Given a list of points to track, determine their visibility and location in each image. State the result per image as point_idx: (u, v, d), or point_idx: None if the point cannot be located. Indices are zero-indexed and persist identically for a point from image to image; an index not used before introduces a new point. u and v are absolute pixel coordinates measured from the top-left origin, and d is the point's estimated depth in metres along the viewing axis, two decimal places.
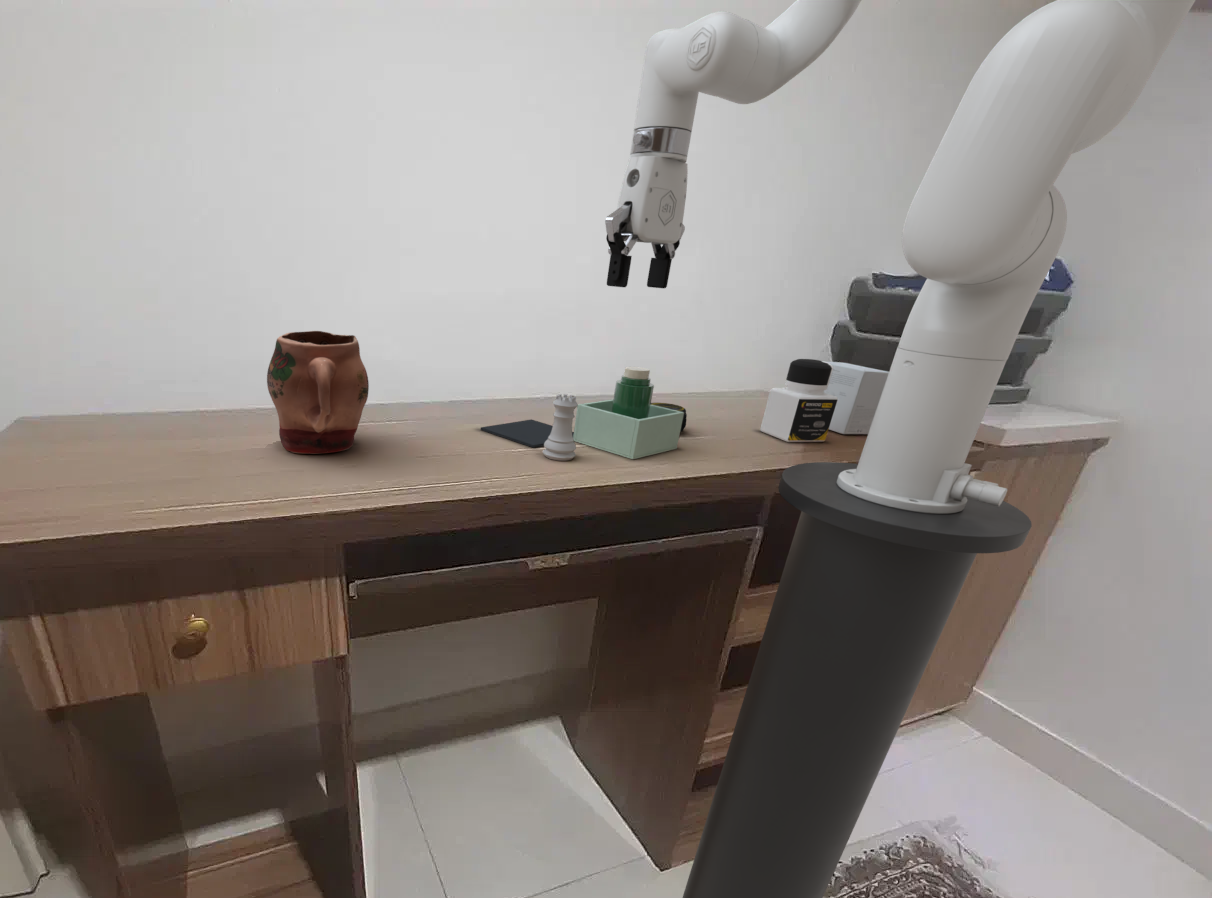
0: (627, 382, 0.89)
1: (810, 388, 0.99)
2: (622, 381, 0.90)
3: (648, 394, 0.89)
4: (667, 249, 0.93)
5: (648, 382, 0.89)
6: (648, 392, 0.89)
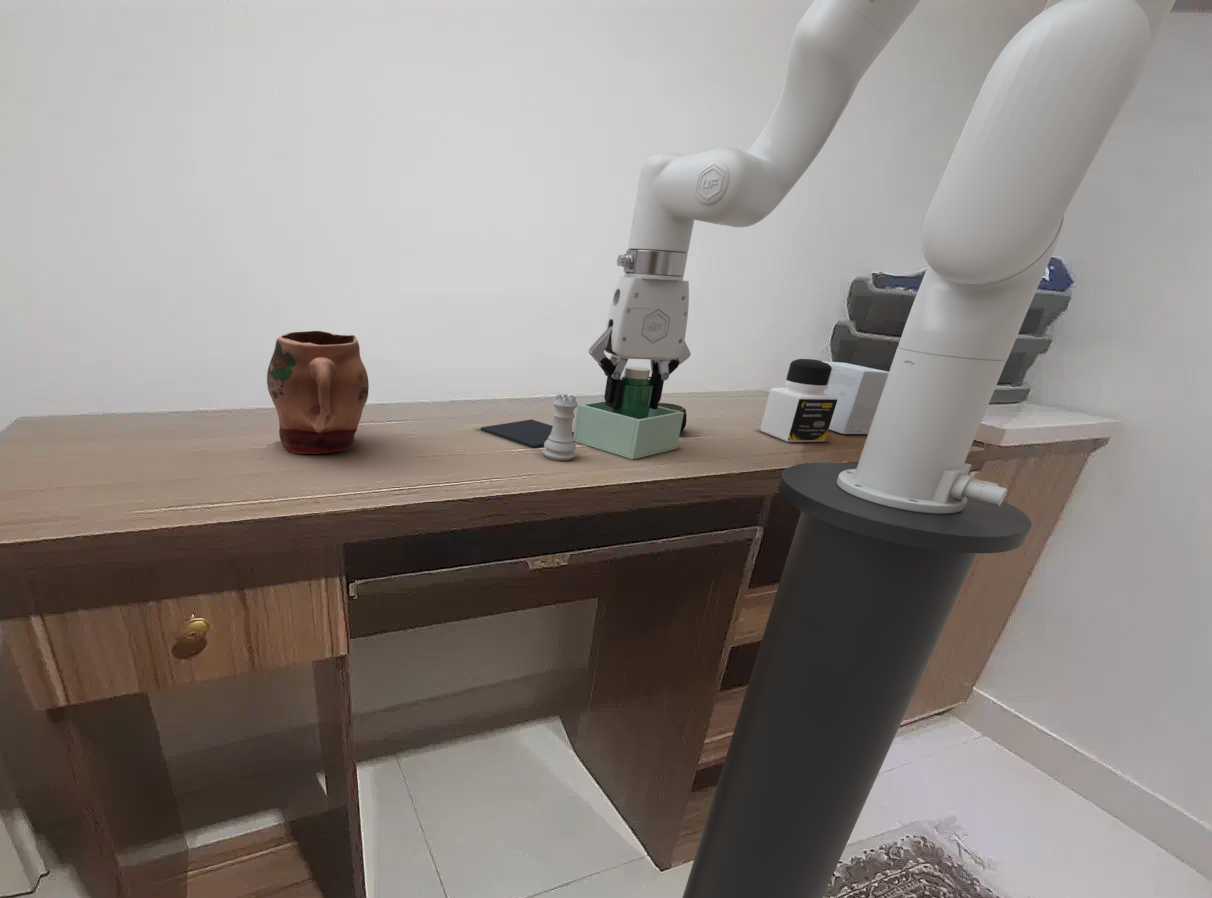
0: (627, 382, 0.89)
1: (810, 388, 0.99)
2: None
3: (648, 394, 0.89)
4: (659, 368, 0.89)
5: (648, 382, 0.89)
6: (648, 391, 0.89)
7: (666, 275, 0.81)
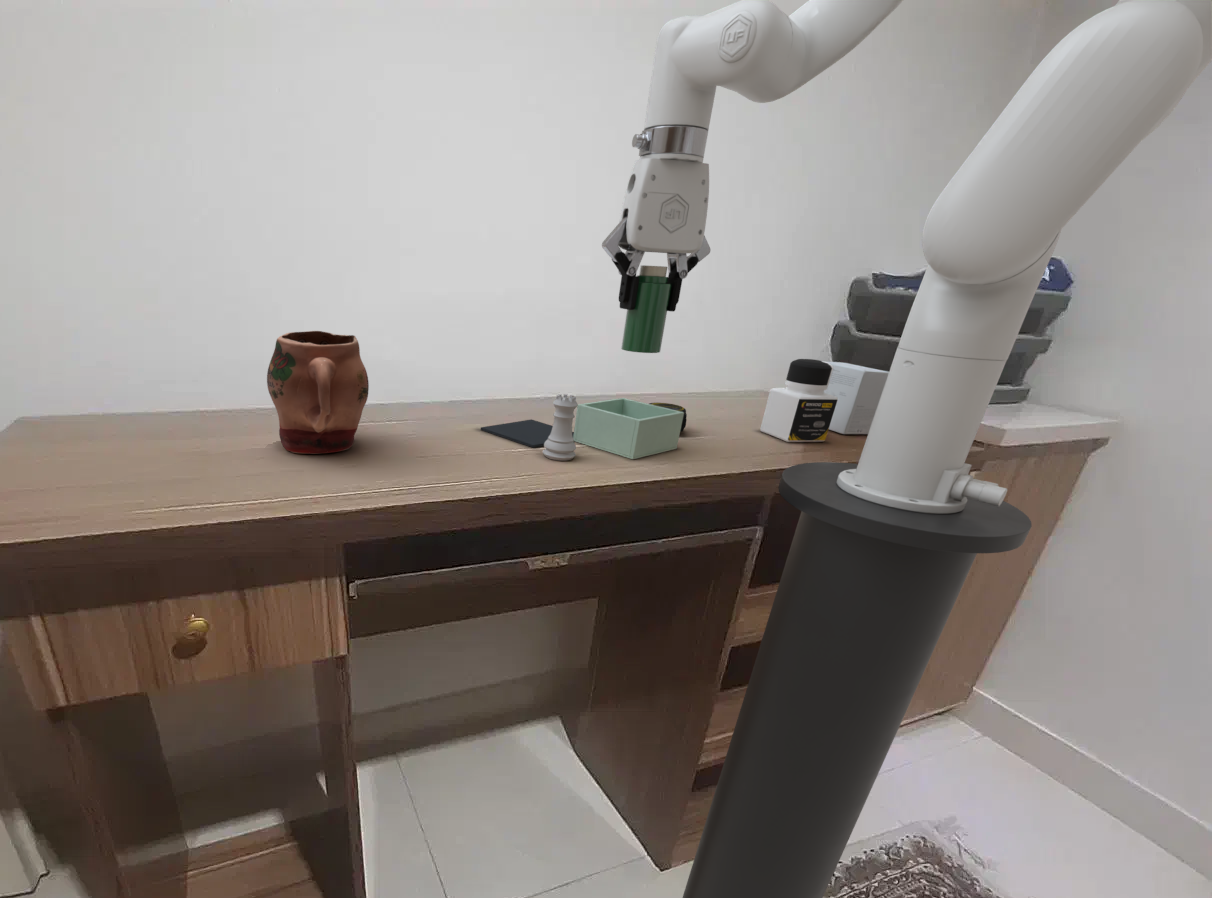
0: (643, 280, 0.83)
1: (810, 388, 0.99)
2: None
3: (665, 293, 0.83)
4: (677, 265, 0.83)
5: (665, 280, 0.83)
6: (666, 289, 0.83)
7: (685, 153, 0.75)
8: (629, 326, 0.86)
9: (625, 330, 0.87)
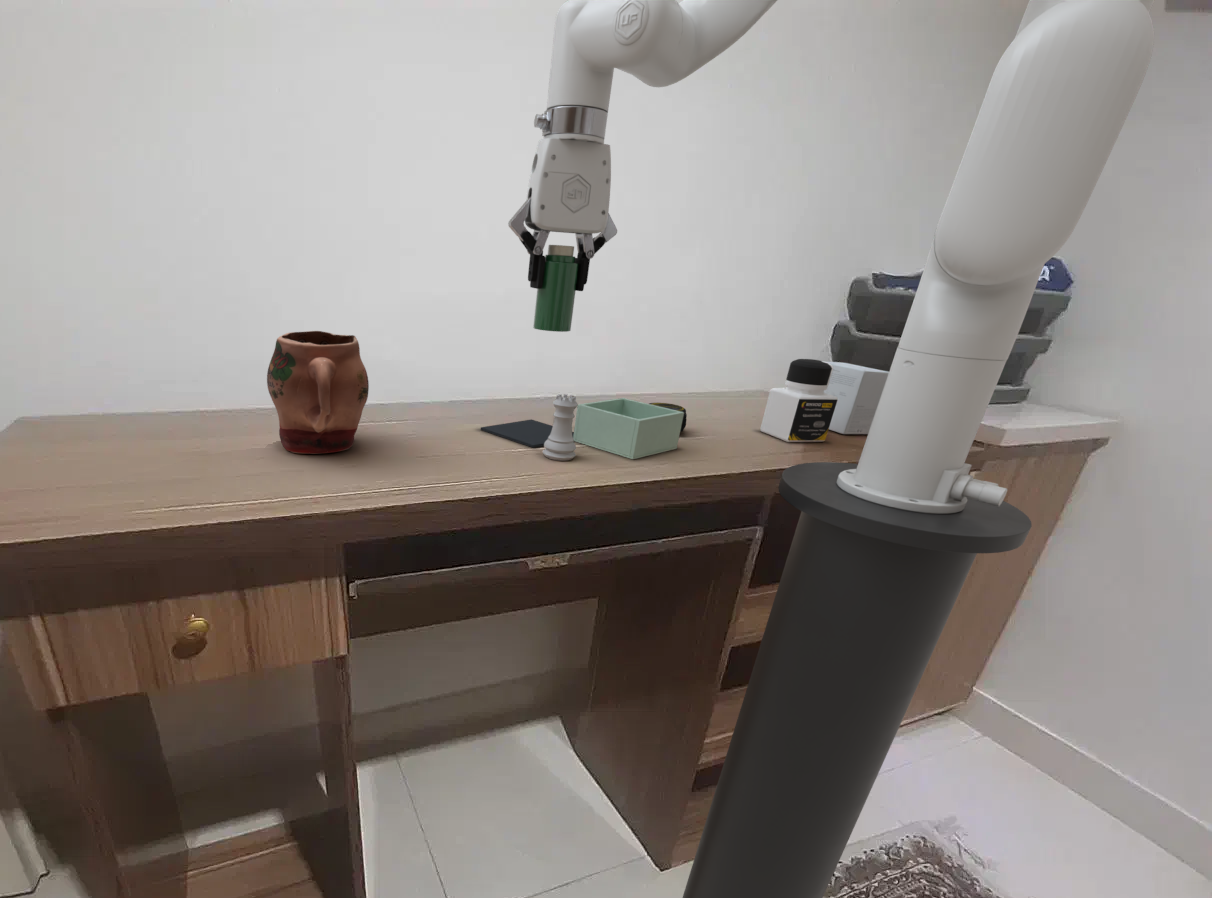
0: (550, 259, 0.85)
1: (810, 388, 0.99)
2: None
3: (572, 272, 0.85)
4: (584, 245, 0.85)
5: (572, 259, 0.85)
6: (572, 269, 0.85)
7: (583, 134, 0.77)
8: (539, 305, 0.87)
9: (535, 309, 0.88)
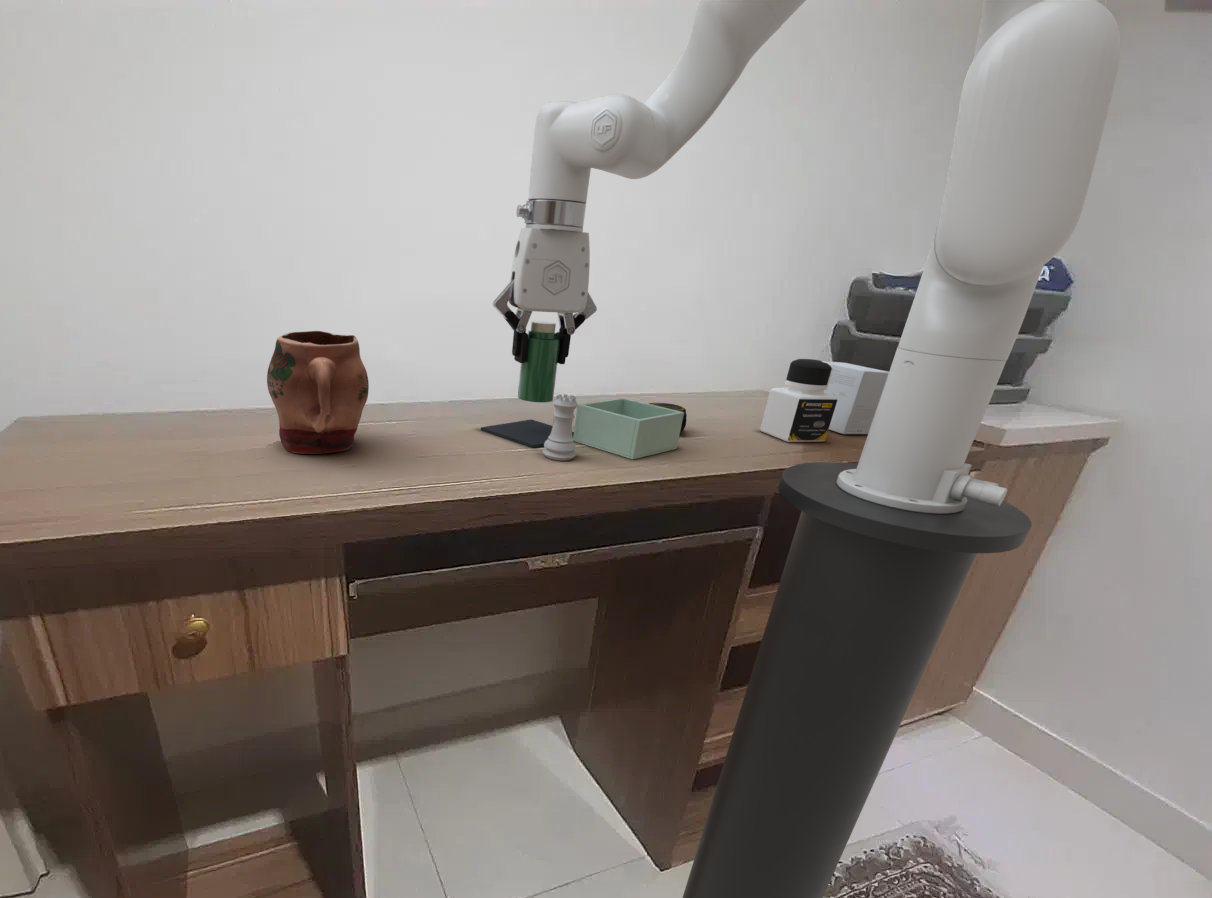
0: (532, 336, 0.89)
1: (810, 388, 0.99)
2: (528, 335, 0.90)
3: (553, 348, 0.89)
4: (565, 322, 0.89)
5: (553, 336, 0.89)
6: (553, 345, 0.89)
7: (563, 225, 0.81)
8: (522, 377, 0.92)
9: (519, 380, 0.93)
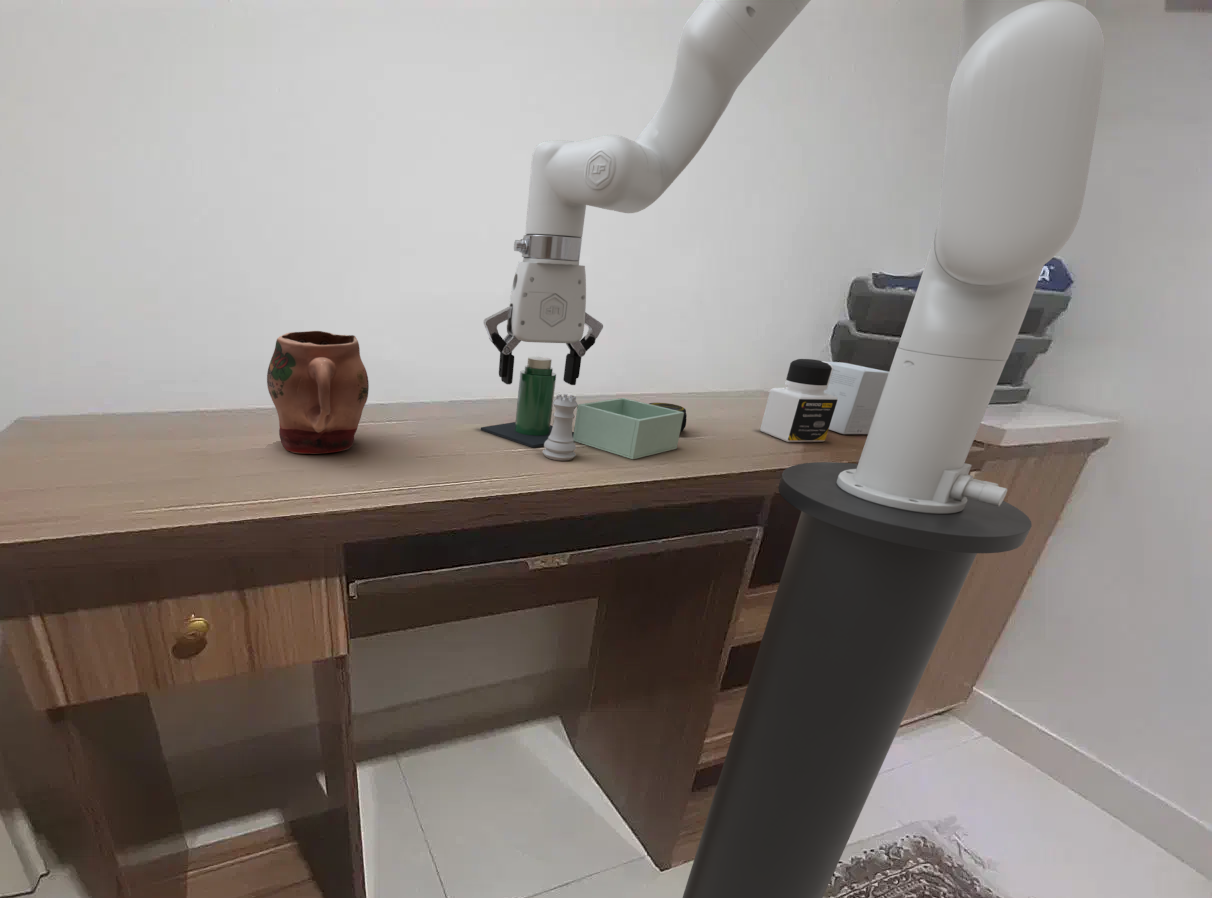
0: (529, 372, 0.91)
1: (810, 388, 0.99)
2: (525, 371, 0.92)
3: (549, 384, 0.91)
4: (573, 347, 0.91)
5: (549, 372, 0.91)
6: (549, 381, 0.91)
7: (559, 259, 0.83)
8: (519, 411, 0.94)
9: (516, 414, 0.95)
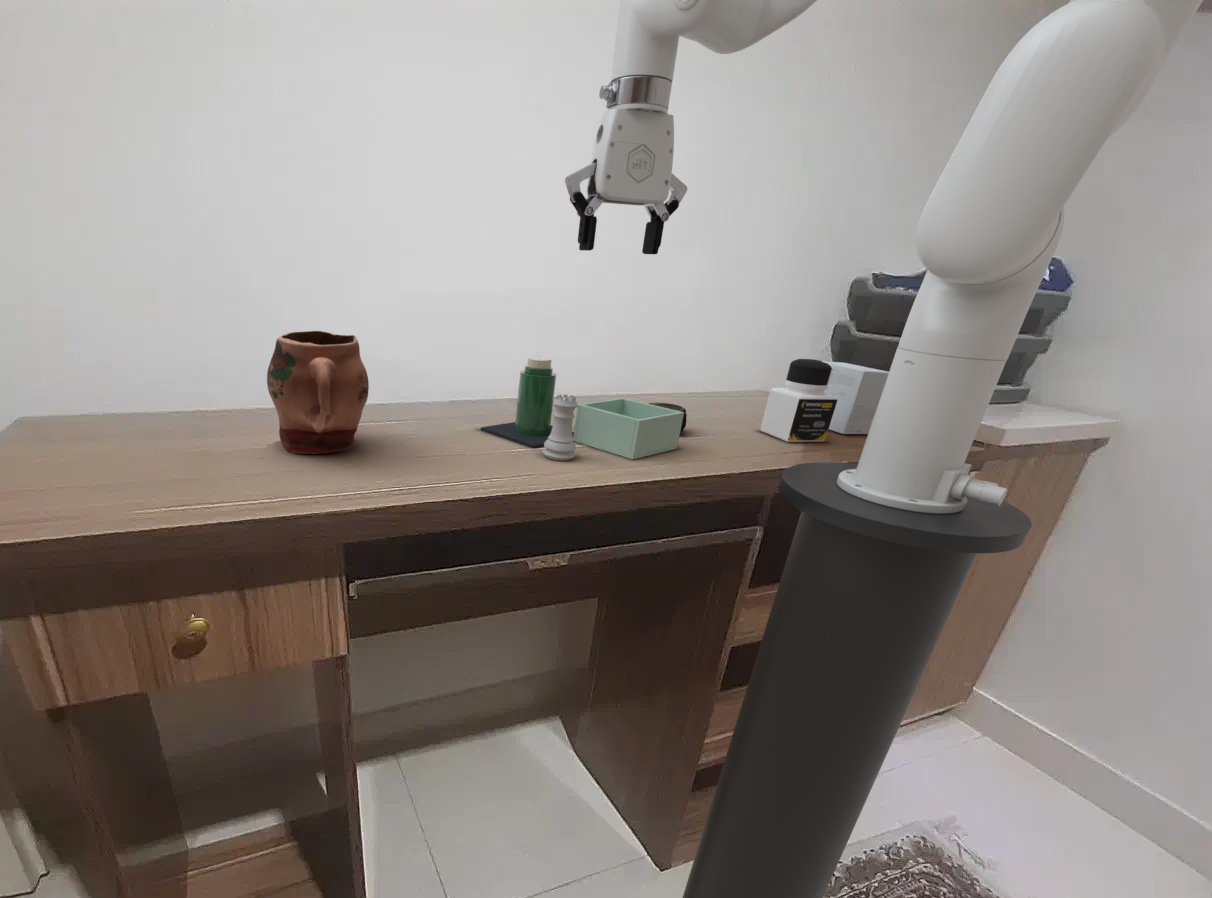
0: (529, 372, 0.91)
1: (810, 388, 0.99)
2: (525, 371, 0.92)
3: (549, 384, 0.91)
4: (656, 211, 0.86)
5: (549, 372, 0.91)
6: (549, 381, 0.91)
7: (650, 103, 0.78)
8: (519, 411, 0.94)
9: (516, 414, 0.95)
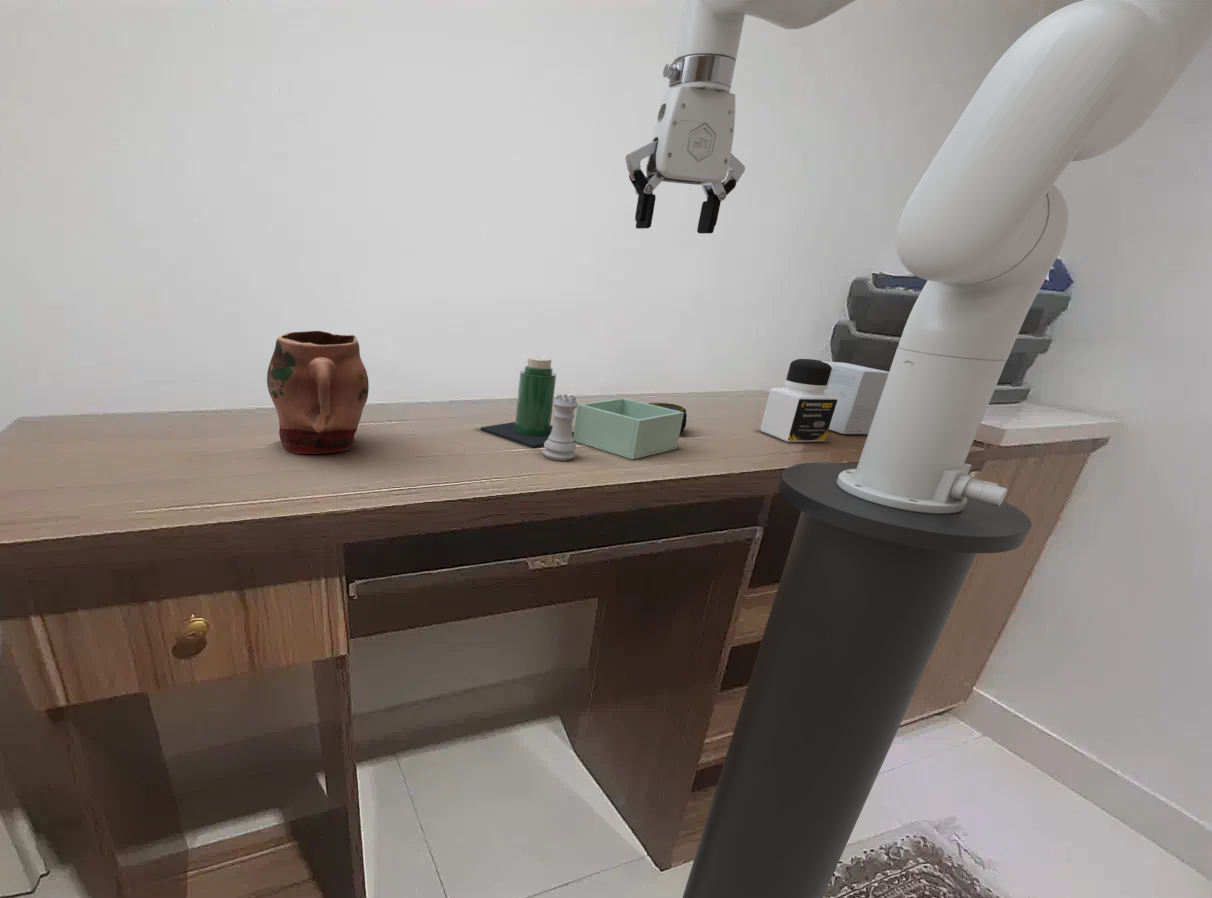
0: (529, 372, 0.91)
1: (810, 388, 0.99)
2: (525, 371, 0.92)
3: (549, 384, 0.91)
4: (714, 190, 0.88)
5: (549, 372, 0.91)
6: (549, 381, 0.91)
7: (714, 82, 0.79)
8: (519, 411, 0.94)
9: (516, 414, 0.95)
